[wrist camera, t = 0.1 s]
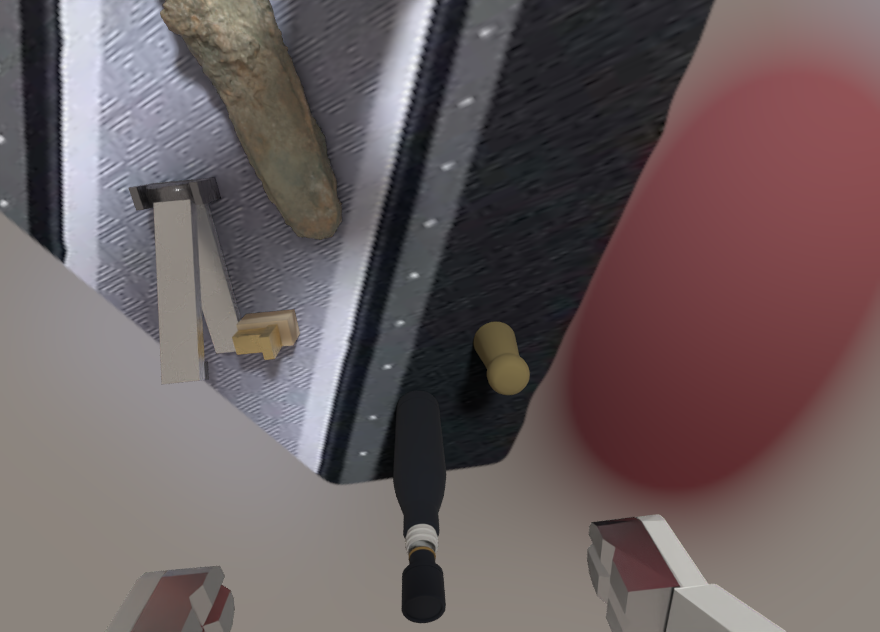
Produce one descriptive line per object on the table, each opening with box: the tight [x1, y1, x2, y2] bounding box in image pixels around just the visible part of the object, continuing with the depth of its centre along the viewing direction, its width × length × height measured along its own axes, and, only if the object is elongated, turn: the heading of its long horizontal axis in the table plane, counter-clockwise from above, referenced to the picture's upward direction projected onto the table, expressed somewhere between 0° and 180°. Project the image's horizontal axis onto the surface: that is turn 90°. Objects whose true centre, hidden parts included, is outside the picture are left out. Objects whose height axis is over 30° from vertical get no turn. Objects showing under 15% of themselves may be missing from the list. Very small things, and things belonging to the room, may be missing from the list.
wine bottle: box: [393, 391, 446, 623], centre depth 51 cm, size 6×6×30 cm
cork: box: [473, 322, 530, 395], centre depth 56 cm, size 6×6×11 cm
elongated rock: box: [160, 0, 342, 240], centre depth 46 cm, size 35×5×10 cm
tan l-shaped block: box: [232, 324, 283, 360], centre depth 53 cm, size 3×5×4 cm, turn 94°
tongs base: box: [129, 178, 241, 354], centre depth 53 cm, size 22×7×5 cm, turn 5°
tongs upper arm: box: [146, 181, 209, 384], centre depth 47 cm, size 22×5×2 cm, turn 4°
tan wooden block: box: [236, 309, 300, 346], centre depth 57 cm, size 4×6×4 cm, turn 95°
